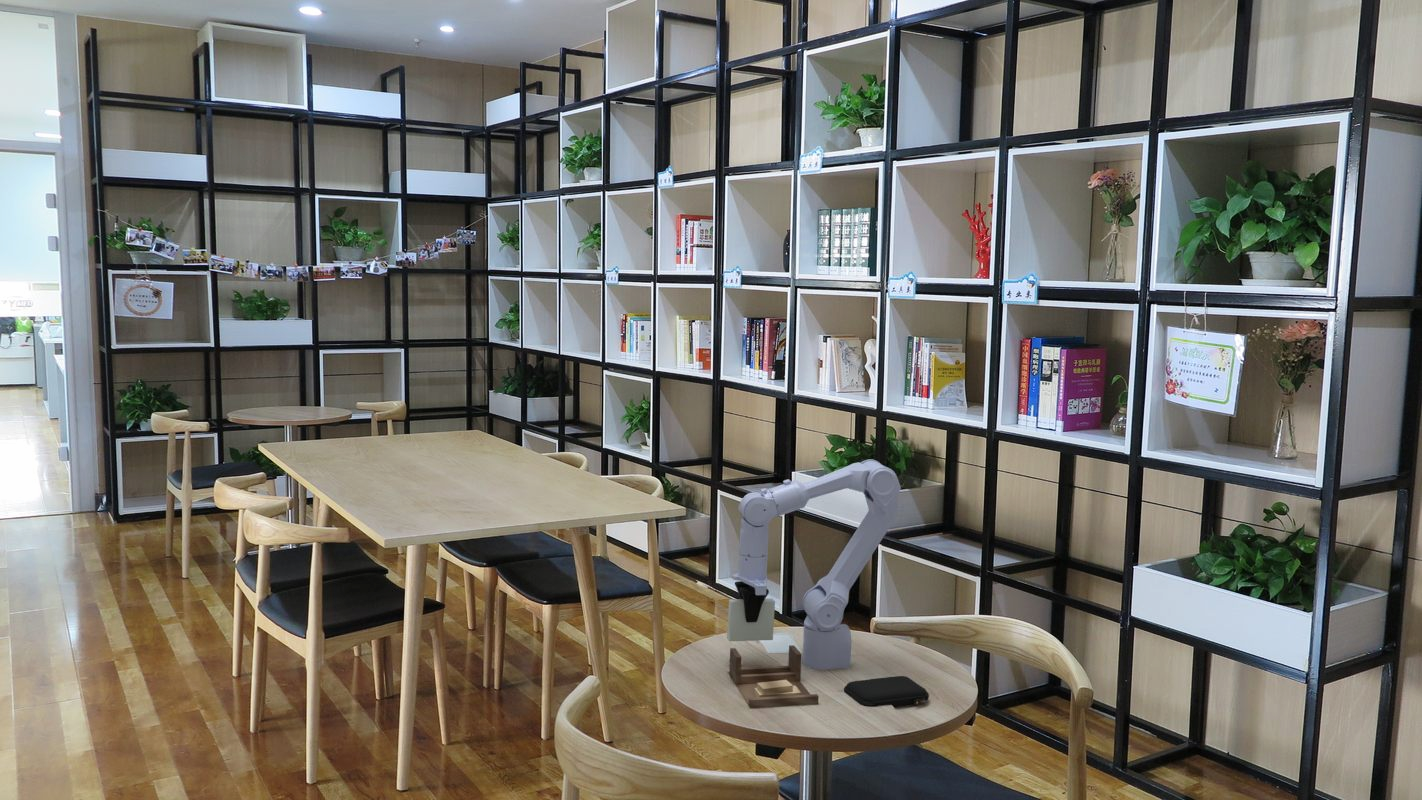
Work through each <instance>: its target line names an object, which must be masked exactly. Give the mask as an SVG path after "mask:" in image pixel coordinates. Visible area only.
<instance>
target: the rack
mask: <svg viewBox="0 0 1422 800" xmlns="http://www.w3.org/2000/svg"><path fill="white" fill-rule="evenodd" d="M729 649H730V651H729V671H726V672H727V675H728V676H729V678H730V679H731V681H732V682H733V685H734V686H735V687H736V689H737V690H738V692H739V693H740V695H741V696H742V698H743V699H744V701H745V703H746V704H747V706H748V707H749V709H760V708H762V709H763V708H778V707H797V706H811V705H812V706H814V705H819V697H820V696H819V695H818V694H817V693H815V694H814V693H810V692H809V691H808V689H807V688H806V686H805V685H804V684H803V683H802V682H801V675H802V674H801V673H802V656H803V653H802V652H799V651H798V649H797V648H796V647H795V646H794V645H790V646H789V653H788V662H787V663H788V665H773V666H771V665H768V666H752V667H751V666H750V667H749V666H747V667H742V656H741V654H740V653H739V651H738V650H737V648H735V647H730V648H729ZM779 680H787V681H788V682H789V683H791V684H792V685H793V686H796V687H797V688H798V689H799V691H800V692H801V695H792V696H775V697H758V698H757V697H756V696H755V694H754V693H755V688H757V683H762V682H770V681H779Z"/></svg>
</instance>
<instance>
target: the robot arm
mask: <svg viewBox="0 0 1422 800" xmlns="http://www.w3.org/2000/svg"><path fill="white" fill-rule="evenodd" d="M782 482H783V483H782V484H780V485H776V486H774V487H771V488H768V489H767V488H766V487H764V488H761V489H760V492H756V491H755V492H748V493H747V494H746V495H744V497H742V498H741V500H740V503H739V504H738V507H737V508H738V512H739V514H740V516H742V517H741V523H740V531H739V547H738V548H739V549H738V565H737V566H738V567H737V569H738V570H737V573H733V574H731V578H732V580H733V581H735V582H734V586H735V587H736V591H737V592H738V597H739V599H743V601H744V608H745V618H746V622H757V620H758V617H759V613H760V610H761V606H762V604H763V602H764V600H765V599H767V597H768V595H769V593H770V592H769V589H768V588H767V582H768V575H767V573H768V558H769V557H768V556H769V538H770V537H769V535H770V532H769V527H770V525H769V524H770V523H771V522H772V520H773V518H778V517H780V516H783V515H786V514H789V513H792V512H795V511H797V510H798V511H799V510H801V509H804V508H805V507H806V505H807V504H808V502H809V501H810V499H815V498H817V497H822V496H825V495H827V494H832V493H835V492H838V491H842V490H845V489H849V490H852V491H855V492H856V491H857V492H861V493H863V494H864V497H865V501H866V505H867V507H868V508H867V509H868V511H867V513H866V514H865V516H864V518H863V519H862V521H861V522H860V524H859V525H858V527H857V528H856V530H855V532H854V533H853V535H852V536H851V538H850V539H849V541H848V543H847V544H846V546H845V547H844V549H843V550H842V551H841V553H840V555H839V557H838V558H837V560H836V561H835V563H834V564H833V566H832V567H831V569H830V571H829V572H828V574H827V575H825V576H823V577H822V578H820V579H818V581H817V583H816V584H815V585H814V586H813V587H812V588H810V589H808V590H807V591H806V592H805V594H804V595H803V596H802V597H803V598H802V601H801V602H802V608H803V610H804V611H805V613H806V617H805V619H804V622H803V635H802V636H803V639H802V656H801V664H802V665H803V666H805V667H807V668H809V669H812V670H818V671H819V670H820V671H825V670H826V671H827V670H833V669H844V668H851V664H852V663H851V660H852V641H853V640H852V632H851V629H850V627H849V626H848V625H847V624H845V623H843V624H842V621H843V619H844V611H845V608H846V607H847V605H848V603H849V598H850V597H849V595H850V590H851V589H852V586H854V584H855V583H856V581H857V579H858V578H859V576H860V574H861V573H862V572H863V570H864V568H865V567H866V565H867V564H868V562H869V561H870V559H871V558H872V556H873V554H874V553H875V551H876V549H877V548H878V546H879V545H880V544H881V541H882V540H883V539H884V537H885V536H886V534H887V532H888V531H889V529H890V528H891V526H892V524H893V523H894V522H895V520H896V517H897V515H898V503H899V493H900V492H901V484H900V481H899V478H898V476H897V473H895V471H894V470H893V469H891V468H889V467H887V466H885V465H883V464H882V463H880V462H879V461H878V460H875V459H866V460H865V459H864V460H863V461H861V462H854V463H851V464H849V465H847V466H844V467H842V468H840V469H837V470H835V471H832V472H829V473H827V474H825V475H822V476H820V477H817V478H815V479H812V480H810V481H807V482H804V483H802V482H801V481H798V480H795V479H794V480H790V479H784V480H783V481H782Z"/></svg>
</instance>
